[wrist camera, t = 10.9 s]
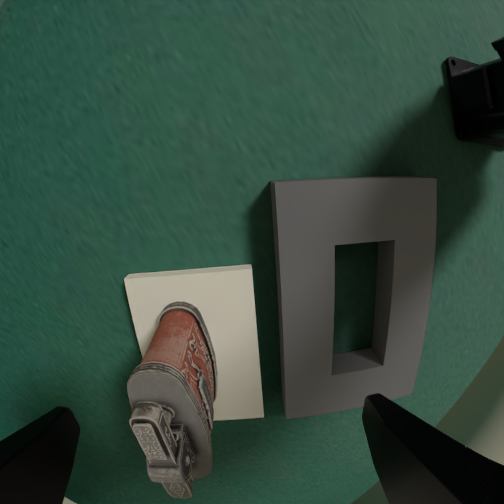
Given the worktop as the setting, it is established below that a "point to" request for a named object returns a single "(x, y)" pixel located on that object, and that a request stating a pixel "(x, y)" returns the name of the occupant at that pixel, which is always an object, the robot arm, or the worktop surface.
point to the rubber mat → (209, 327)
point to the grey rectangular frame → (323, 286)
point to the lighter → (176, 400)
